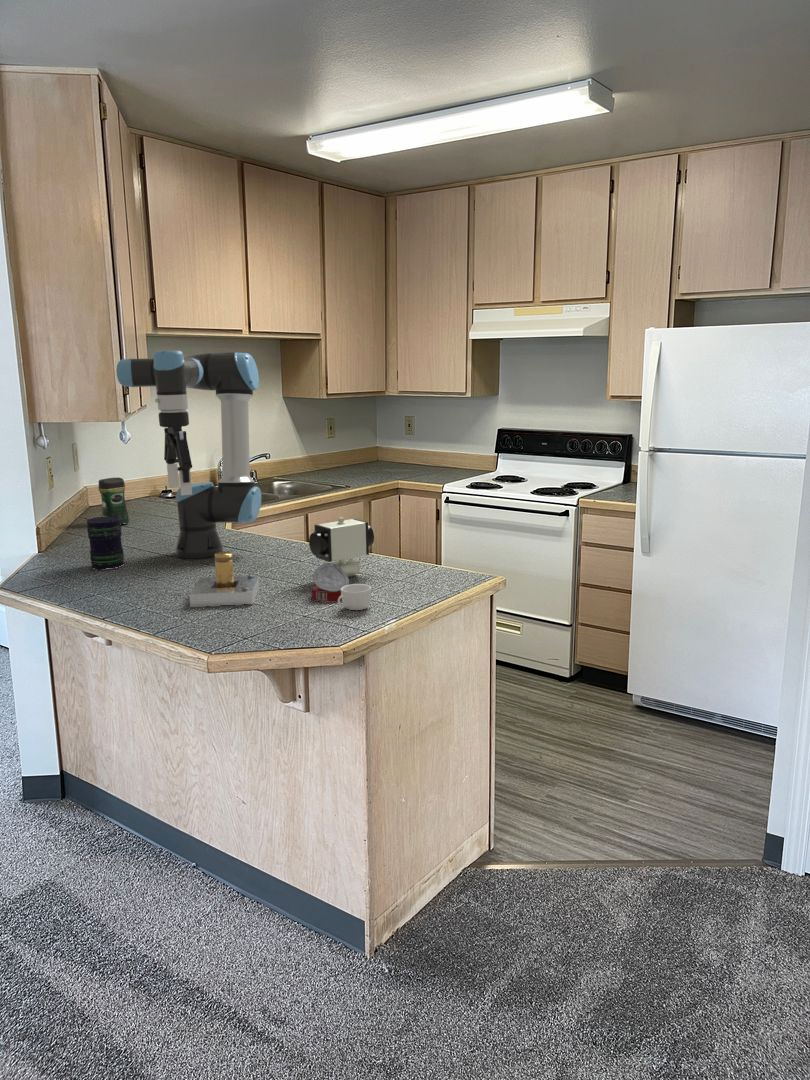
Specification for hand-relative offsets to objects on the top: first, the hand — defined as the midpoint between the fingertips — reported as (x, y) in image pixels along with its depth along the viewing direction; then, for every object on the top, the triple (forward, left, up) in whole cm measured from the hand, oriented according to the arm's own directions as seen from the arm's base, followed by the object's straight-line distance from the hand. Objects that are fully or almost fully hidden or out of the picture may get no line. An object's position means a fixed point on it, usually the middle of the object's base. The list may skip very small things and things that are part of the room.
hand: (180, 491), depth 214 cm
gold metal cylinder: (+7, +11, -28) cm, 31 cm away
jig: (+7, +11, -28) cm, 31 cm away
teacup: (+22, +45, -28) cm, 58 cm away
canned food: (+10, +39, -29) cm, 49 cm away
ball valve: (-9, +42, -28) cm, 52 cm away
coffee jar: (-99, -47, -28) cm, 113 cm away
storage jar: (-32, -31, -28) cm, 53 cm away
